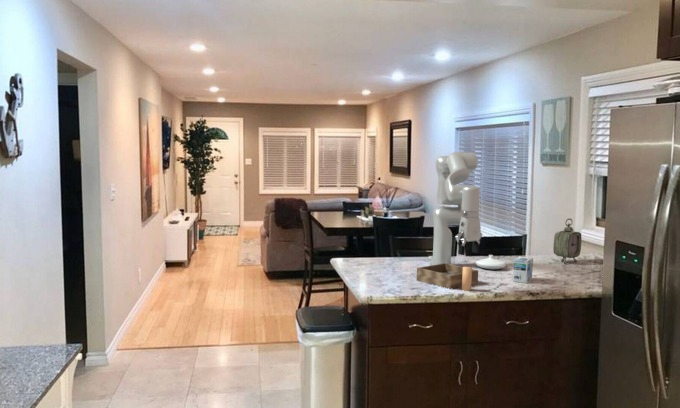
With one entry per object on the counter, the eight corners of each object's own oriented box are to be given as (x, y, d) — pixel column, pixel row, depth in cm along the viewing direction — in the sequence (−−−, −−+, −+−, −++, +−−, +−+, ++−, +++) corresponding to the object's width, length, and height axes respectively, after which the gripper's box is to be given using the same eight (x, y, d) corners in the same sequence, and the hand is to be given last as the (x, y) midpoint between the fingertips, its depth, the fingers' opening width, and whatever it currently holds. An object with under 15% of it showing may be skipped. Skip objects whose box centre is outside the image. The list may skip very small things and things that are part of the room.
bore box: (416, 280, 267) (417, 267, 267) (444, 275, 280) (444, 263, 280) (450, 289, 252) (450, 275, 252) (477, 283, 265) (478, 270, 264)
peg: (459, 289, 252) (460, 267, 251) (465, 288, 254) (466, 266, 253) (467, 291, 249) (468, 269, 248) (472, 290, 251) (473, 267, 250)
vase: (512, 271, 295) (512, 257, 294) (484, 272, 290) (485, 258, 289) (495, 264, 310) (496, 252, 309) (469, 265, 305) (470, 252, 304)
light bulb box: (526, 283, 267) (528, 261, 266) (512, 281, 270) (513, 259, 269) (532, 279, 276) (533, 257, 275) (518, 277, 279) (519, 255, 278)
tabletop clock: (566, 265, 313) (569, 220, 310) (551, 262, 320) (554, 218, 317) (580, 262, 322) (583, 218, 319) (565, 259, 329) (567, 216, 326)
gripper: (464, 216, 240) (462, 256, 241) (489, 214, 251) (487, 253, 252) (450, 214, 246) (448, 254, 247) (475, 213, 257) (473, 250, 258)
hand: (468, 253), depth 250 cm, fingers open, 9 cm apart
